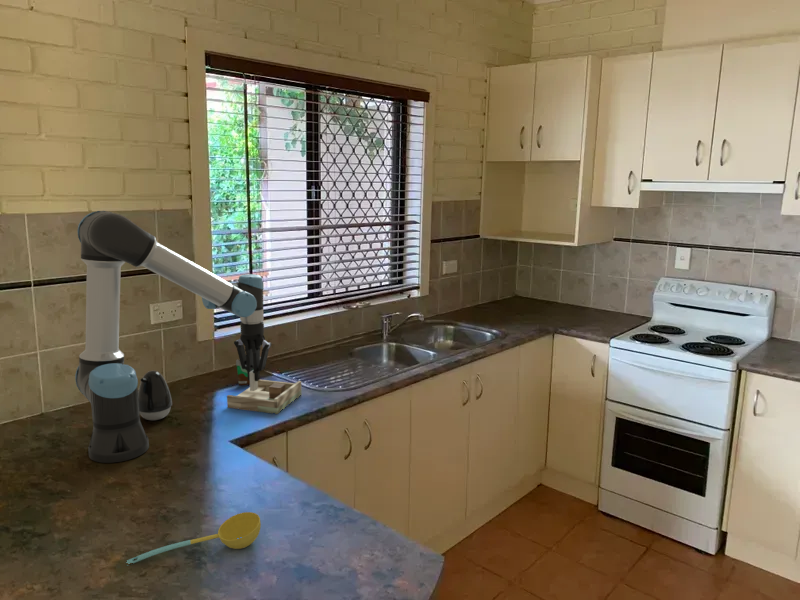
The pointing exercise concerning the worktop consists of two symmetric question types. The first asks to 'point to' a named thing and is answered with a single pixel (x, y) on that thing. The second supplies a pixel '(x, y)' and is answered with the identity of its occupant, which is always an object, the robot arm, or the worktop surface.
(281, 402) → the box
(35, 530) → the worktop surface
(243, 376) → the food container
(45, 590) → the worktop surface
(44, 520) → the worktop surface
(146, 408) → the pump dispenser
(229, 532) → the ladle
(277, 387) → the walnut block
